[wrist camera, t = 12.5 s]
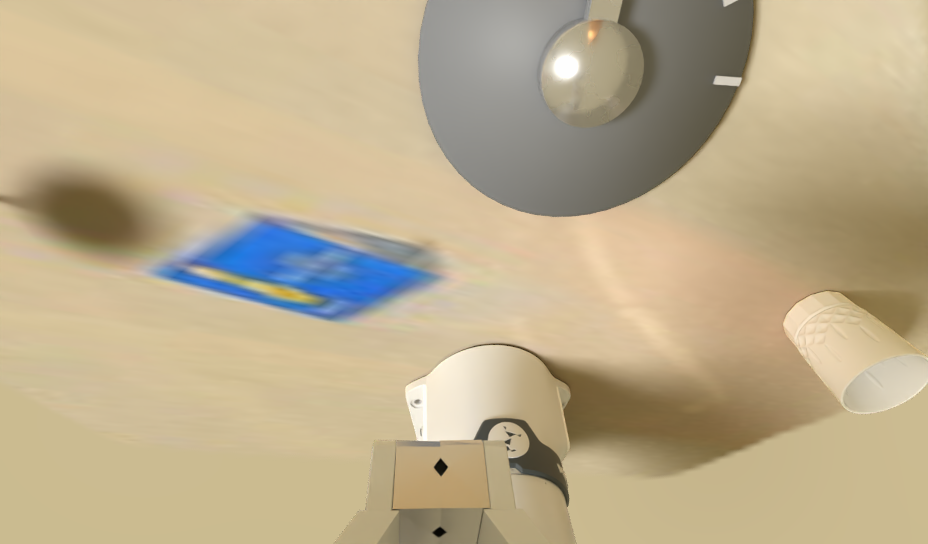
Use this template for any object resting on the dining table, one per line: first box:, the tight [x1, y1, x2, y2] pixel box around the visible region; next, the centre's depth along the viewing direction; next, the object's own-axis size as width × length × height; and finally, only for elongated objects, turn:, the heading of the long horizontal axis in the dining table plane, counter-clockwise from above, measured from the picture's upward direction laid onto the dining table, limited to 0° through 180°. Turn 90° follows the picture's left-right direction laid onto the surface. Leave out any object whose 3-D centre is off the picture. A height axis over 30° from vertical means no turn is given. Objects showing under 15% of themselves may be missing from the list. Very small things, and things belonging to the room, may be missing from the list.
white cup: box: [783, 291, 928, 414], centre depth 48 cm, size 8×8×10 cm
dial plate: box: [418, 0, 754, 217], centre depth 36 cm, size 24×24×1 cm
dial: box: [537, 0, 644, 128], centre depth 31 cm, size 14×7×6 cm, turn 175°
